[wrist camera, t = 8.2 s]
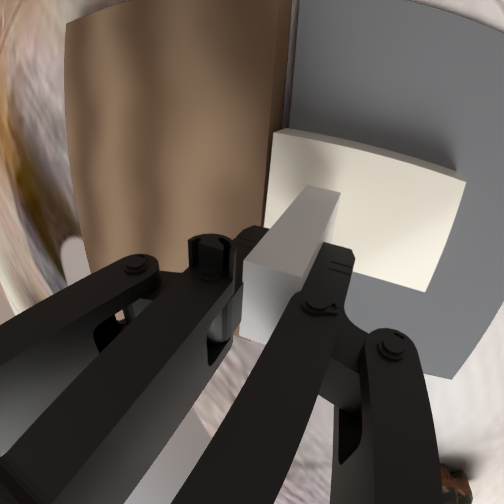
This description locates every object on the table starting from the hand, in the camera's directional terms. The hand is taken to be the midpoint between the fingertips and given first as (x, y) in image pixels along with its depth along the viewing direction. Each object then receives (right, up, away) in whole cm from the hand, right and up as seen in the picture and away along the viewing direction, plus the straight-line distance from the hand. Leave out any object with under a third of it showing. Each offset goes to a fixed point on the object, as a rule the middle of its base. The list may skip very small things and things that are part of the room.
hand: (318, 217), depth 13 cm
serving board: (-9, +5, +6) cm, 12 cm away
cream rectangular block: (+3, +1, +2) cm, 4 cm away
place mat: (+6, 0, +1) cm, 6 cm away
